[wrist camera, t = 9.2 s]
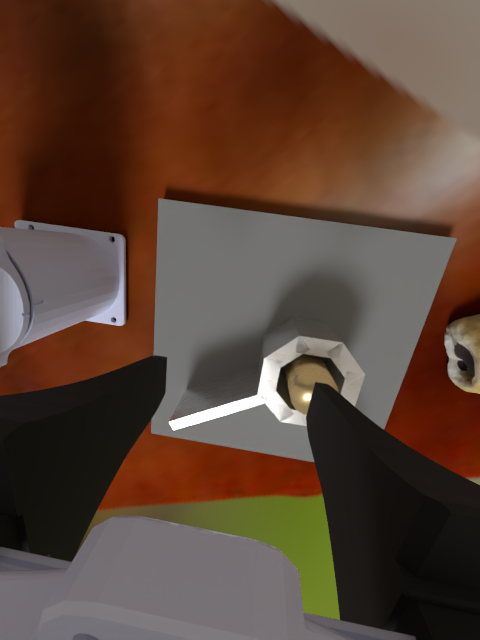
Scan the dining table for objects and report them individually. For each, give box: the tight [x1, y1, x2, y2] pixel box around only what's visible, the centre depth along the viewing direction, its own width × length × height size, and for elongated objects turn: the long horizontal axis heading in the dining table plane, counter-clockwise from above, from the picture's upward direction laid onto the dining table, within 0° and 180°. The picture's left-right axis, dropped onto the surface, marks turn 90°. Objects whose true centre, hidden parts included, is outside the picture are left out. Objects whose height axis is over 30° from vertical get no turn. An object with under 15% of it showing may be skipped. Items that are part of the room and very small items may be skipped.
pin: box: [284, 354, 339, 415], centre depth 18 cm, size 3×3×6 cm
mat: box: [151, 198, 457, 462], centre depth 21 cm, size 22×22×1 cm
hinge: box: [169, 317, 365, 430], centre depth 20 cm, size 16×13×4 cm
